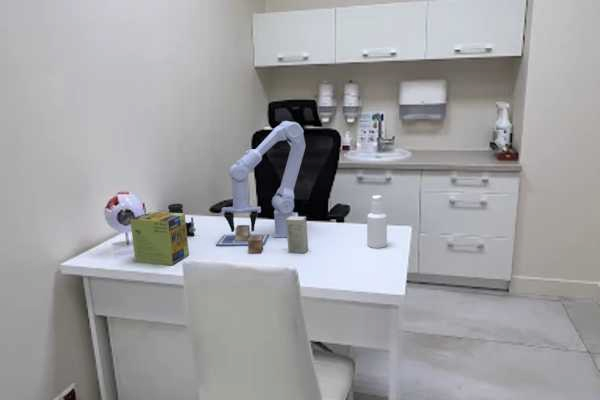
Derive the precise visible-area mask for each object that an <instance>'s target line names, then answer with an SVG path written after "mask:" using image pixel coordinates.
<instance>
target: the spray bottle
mask: <svg viewBox="0 0 600 400" xmlns="http://www.w3.org/2000/svg"><path fill="white" fill-rule="evenodd" d="M387 221H388V216H387V214H386V213H384V209H383V196H382V195H371V206H370V213H368V214H367V216H366V226H367V227H366V231H367V232H366V233H367V235H366V236H367V240H366V241H367V246H368V247H370V248H373V249H382V248H385V247H387V245H388V244H387V240H388V239H387V238H388V236H387V235H388V234H387V233H388V232H387V230H388V228H387V227H388V222H387Z"/></svg>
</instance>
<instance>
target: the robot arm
mask: <svg viewBox="0 0 600 400" xmlns="http://www.w3.org/2000/svg"><path fill="white" fill-rule="evenodd" d="M304 131H305V130H304V129H303V127H302V126H301V125H300V124H299V123H298V122H296V121H289V120H284V121H281V123H279V125H277V126H276V127H274V129H273V130H272V131H271V132H270V133H269V134H268V135H267V136H266V137H265V138H264V140H263V141H262V142H261V143H260V144H259V145H258V146H257V147H256V148H255V149H253V148H252V149H249V150H246V151H245V152H244V153H245V154H244V155H243V156H241V158H240V159H239V160H236V163H235V164H233V165H231V166H230V168H229V171H228V175H229V177H230V178H231V179H230V181H231V193H232V194H231V195H232V196H231V197H232V206H228V207H226V206H224V207H222V208H221V214H222V215H224V218H225V220H226V222H227V223H228V225H229V229H230V231H231V233H234V232H235V223H234V221H235V220H234V214H239V213H241V214H244V213H250V214H249V217H250V232H254V231H255V224H256V221H257V217H258V214H259V213H261V212H262V208H261V206H255V205H253V206H252V205H249V195H248V194H249V193H248V183H247V178H248V177H249V173H250V172H251V171H253V170H254V169H255V167H257V166H258V164H260V162H261V161H262V160H263V155H264V154H265V153H266V152H268V151H269V150H270V149H272V147H273V146H274V145H275V144H277V143H278V142H280V141H287V144H289V146H290V150H289V154H288V158H287V162H286V165H285V167H284V168H285V169H284V172H283V176H282V180H281V183H280V187H278V189H277V191H276V193H275V194H274V196H273V197H272V200H271V204H272V205H271V206H272V207H273V208H274V211H273V216H274V217H273V218H274V233H273V236H272V237H273V238H287V226H286V219H287V218H289V217H290V216H297V217H299V213H298V212H294V208H295V193H294V190H295V186H296V182H297V180H298V175H299V173H300V172H299V171H300V168H301V164H302V160H303V157H304V154H305V150H306V141H305V140H306V139H305V135H304Z"/></svg>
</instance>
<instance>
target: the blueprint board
mask: <svg viewBox="0 0 600 400" xmlns="http://www.w3.org/2000/svg"><path fill="white" fill-rule="evenodd" d="M250 236H263V247H265V245H266V243H267V241H268V239H269V236H270V233H258V234H257V233H254V234H253V233H250ZM216 247H248V241H236V234H223V236H221V238H220V239H219V241H218V242H217V243H216Z"/></svg>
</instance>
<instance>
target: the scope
mask: <svg viewBox="0 0 600 400" xmlns="http://www.w3.org/2000/svg"><path fill="white" fill-rule="evenodd" d="M183 207H184V206H183V204H182V203H172V204H169V205H168V206H167V208H168V213H184V210H183V209H184V208H183ZM186 230H187V238H189V237H193V236H195V232H196V230H197V229H196V227H195V222H194V217H193V216H192V217H190V221H189V222H186Z"/></svg>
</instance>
